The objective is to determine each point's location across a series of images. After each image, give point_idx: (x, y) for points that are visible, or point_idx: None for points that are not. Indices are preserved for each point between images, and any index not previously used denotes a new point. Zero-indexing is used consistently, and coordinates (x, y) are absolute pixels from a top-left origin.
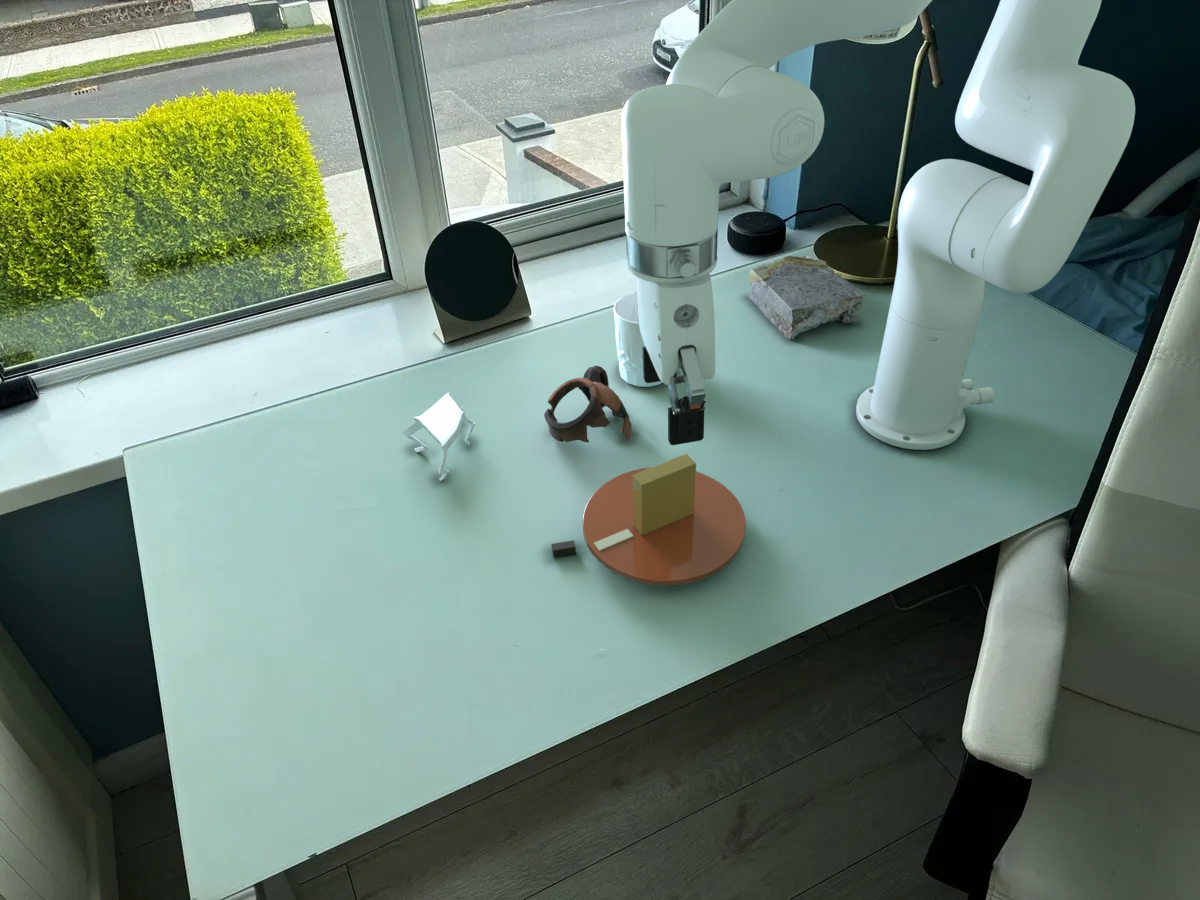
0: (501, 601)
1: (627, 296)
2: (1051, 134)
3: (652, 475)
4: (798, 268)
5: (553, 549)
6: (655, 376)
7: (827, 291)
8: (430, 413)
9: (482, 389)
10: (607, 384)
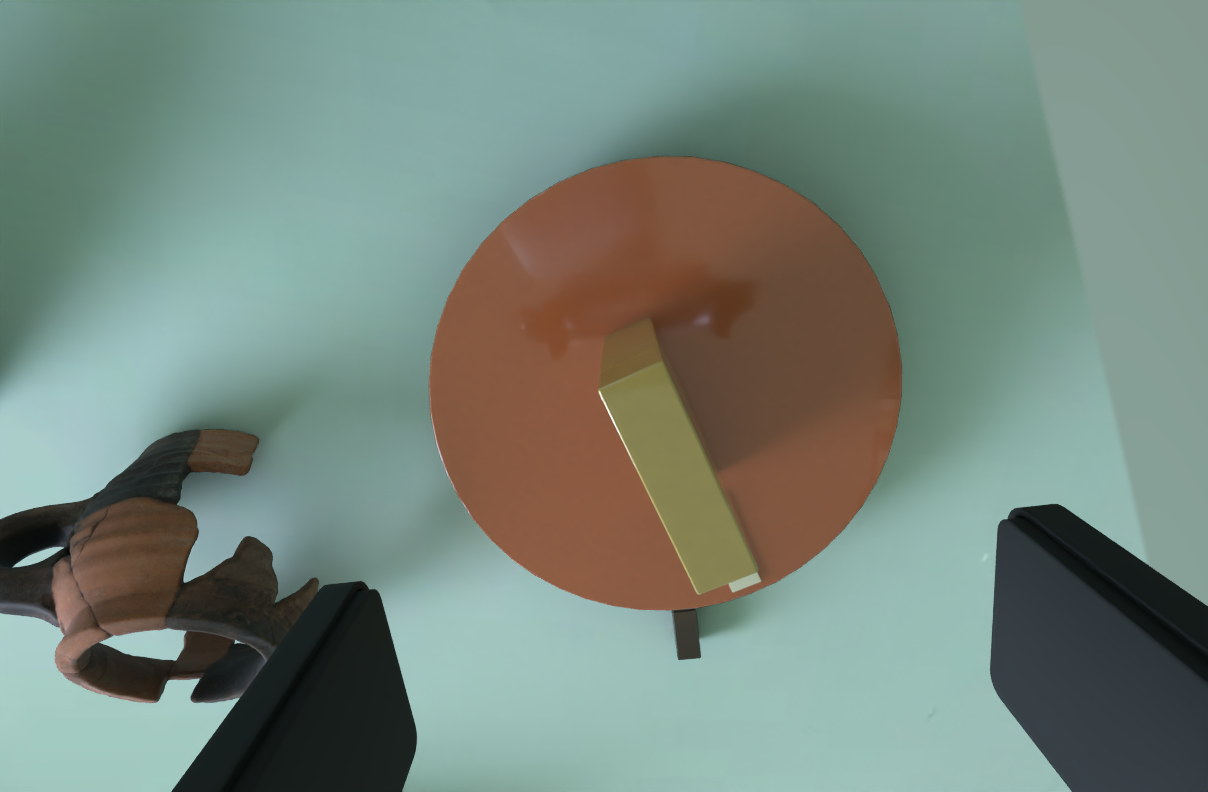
0: (806, 738)
1: None
2: None
3: (713, 531)
4: None
5: (698, 657)
6: (391, 726)
7: None
8: None
9: (60, 780)
10: (30, 517)
